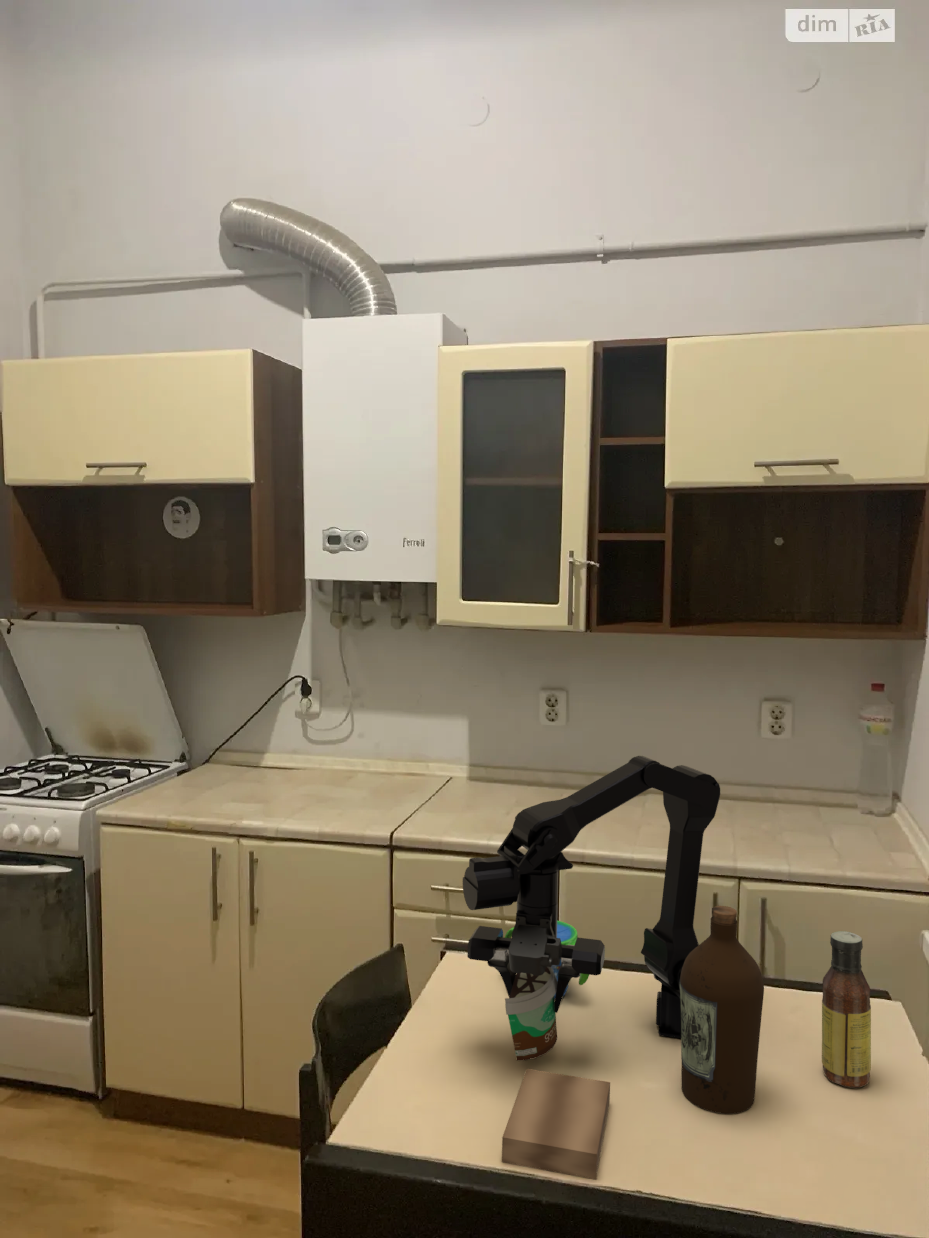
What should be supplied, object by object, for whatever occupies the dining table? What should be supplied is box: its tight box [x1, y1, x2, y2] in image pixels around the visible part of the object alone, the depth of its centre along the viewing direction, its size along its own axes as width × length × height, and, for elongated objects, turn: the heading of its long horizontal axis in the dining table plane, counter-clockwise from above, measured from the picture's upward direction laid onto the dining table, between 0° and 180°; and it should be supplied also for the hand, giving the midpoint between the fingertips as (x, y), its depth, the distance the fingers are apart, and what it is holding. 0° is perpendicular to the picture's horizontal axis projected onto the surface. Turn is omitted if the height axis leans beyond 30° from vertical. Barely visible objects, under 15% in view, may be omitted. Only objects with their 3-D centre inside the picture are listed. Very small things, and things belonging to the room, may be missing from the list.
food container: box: [504, 967, 558, 1062], centre depth 130 cm, size 12×6×10 cm, turn 166°
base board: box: [501, 1068, 611, 1180], centre depth 113 cm, size 11×15×3 cm
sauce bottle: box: [821, 930, 872, 1089], centre depth 125 cm, size 6×6×20 cm
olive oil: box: [680, 905, 765, 1115], centre depth 121 cm, size 11×11×25 cm
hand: (535, 1008), depth 129 cm, fingers closed on food container, 6 cm apart
